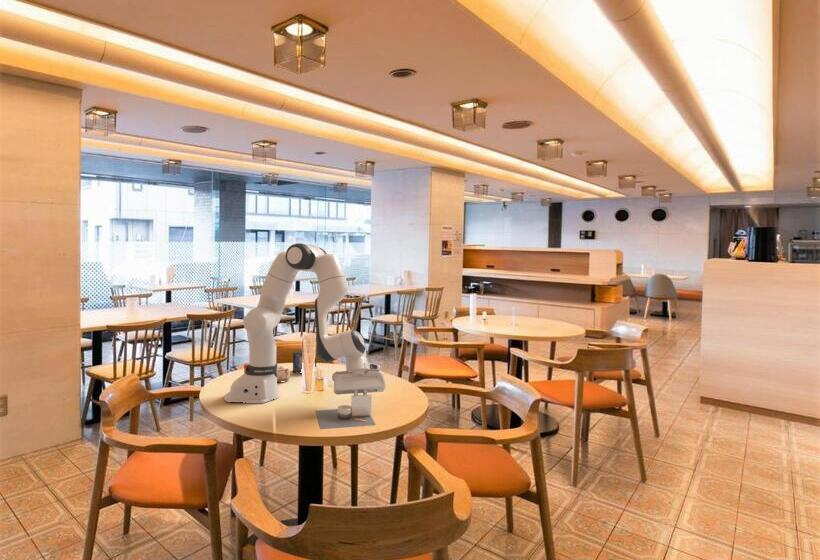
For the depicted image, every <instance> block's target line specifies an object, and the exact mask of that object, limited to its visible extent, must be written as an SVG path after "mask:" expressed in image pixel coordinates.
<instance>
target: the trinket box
mask: <svg viewBox="0 0 820 560" xmlns="http://www.w3.org/2000/svg"><path fill="white" fill-rule="evenodd" d="M277 366H278V375H277V382H281V381H287V380H288V379H290V378H291V371H290V369H289V367H287V366H286V365H284V364H278V363H277ZM288 381H289V380H288ZM288 381H287V382H288Z"/></svg>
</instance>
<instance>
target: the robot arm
mask: <svg viewBox="0 0 820 560" xmlns="http://www.w3.org/2000/svg"><path fill="white" fill-rule="evenodd" d="M301 271H303V272H312V273H315V276H316V278H317V282H318V287H319V292H318V296H317V297H316V298H315V300H314V320H315V333H316V334H315V335H316V336H315V337H316V344H315V345H316V346H315V347H316V349H315V350H316V352H317V354H316V356H317V357H318V359H319V360H321V361H322V362H325V363H328V364H329V363H332V362H334V361H336V360H339V359H344V358H345V360H346V361H345V362H346V363H345V368H346V370H343V371H342V370H339V371H335V372H333V373H332V375H331V380H332V382H333V393H334V395H349V394H351V395H353V396H356V395H358V394H362V395H368V393H382V392H384V391H385V390H386V388H387V386H386V381H385V379H386V378H385V377H384V374H383V372H382V371H381V365H379V364H377V363H372V362H368V359H367V346H366V341H365V339H364V336H363V334H362V333H360V332H359V331H357V330H356V329H348V330H345V331H341V332H338V333H336V334H332V335H329V333H328V332H329V331H328V318H327V316H328V313H329V312H330V310H332V309H333V308H334V307H335V306H336V305H337V304H339V303H340V302H341V301H342V300H343V299H344V298H345V297H346V296H347V293H348V282H347V278H346V274H345V271H344V268H343V265H342V264H341V261H340V259H339V257H338V256H337V255H336V254H333V253H327V252H326V250H324V249H323V248H322V247H318V246H315V245H312V244H307V243H306V244H305V243H301V242H300V243H297V242H296V243H293V244H292V245H289V246H288V247H287V249H286V251H281V252H279V253H278V254H277V256H276V257H275V258H274V260H273V262H272V264H271V265H270V267H269V269H268V272H267V274H266V276H265V279H264V281H263V284H262V286H261V288H260V297H259V301H258V304H257V306H256V307H254V308H252V309H250V310H249V311H248V312H247V313H246V315H245V316H244V318H243V327H244V330H245V331H246V335H247V340H248V347H249V348H248V349H249V354H248V358H249V359H248V361H249V363H244V364H243V368H244V369H243V371H244V372H243V374H242V375H240V376H239V377H238V378H237V379H235V380H234V381H233V382H232V383H231V386H230V389H229V392H226V394H225V395H224V397H223V398H224V399H225V401H227V402H243V403H242V404H265V402H266V403H267V401H268V402H269V401H274V400H276V399H278V398H280V397H281V394H280V390H279V385H278V384H279V383H277V375H278V366H277V364H278V363H277V344H276V342H275V336H274V328H276V327H277V326H278V325H279V323H280V321H281V319H282V315H283V313H284V312H283V311H284V309H285V304H286V300H287V298H288V296H289V293H290V291H291V288H292V285H293V283H294V281H295V279H296V276H297V275H298V273H300V272H301ZM273 399H274V400H273ZM225 401H224V402H225ZM227 402H226V403H227ZM245 402H246V403H245Z"/></svg>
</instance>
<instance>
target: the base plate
mask: <svg viewBox="0 0 820 560" xmlns="http://www.w3.org/2000/svg"><path fill="white" fill-rule="evenodd" d="M315 415H316V418H317V422H318V425H319V429H320V430H327V429H340V428H341V429H343V428H355V427H356V428H357V427H367V426H371V427H372V426H376V425H377V424H376V422H375V421H374V419H373V417H372V414H371V415H362V416H351V418H349V419H340V418H338V408H336V409H335V408H334V409H319V410H316V409H315Z"/></svg>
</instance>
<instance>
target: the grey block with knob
mask: <svg viewBox="0 0 820 560" xmlns="http://www.w3.org/2000/svg"><path fill="white" fill-rule="evenodd" d="M372 396H373V395H372V394H367V395H363V394H359V395H356V396H354V395H351V397H350V405H345V404H344V405H343V404H342V405H339V406H338V407H337V409H338V418H340V419H349V418H351V416H362V415H371V416H372Z"/></svg>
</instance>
